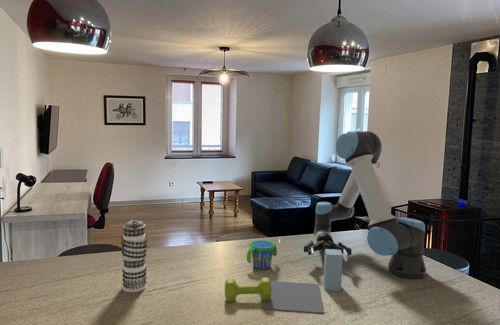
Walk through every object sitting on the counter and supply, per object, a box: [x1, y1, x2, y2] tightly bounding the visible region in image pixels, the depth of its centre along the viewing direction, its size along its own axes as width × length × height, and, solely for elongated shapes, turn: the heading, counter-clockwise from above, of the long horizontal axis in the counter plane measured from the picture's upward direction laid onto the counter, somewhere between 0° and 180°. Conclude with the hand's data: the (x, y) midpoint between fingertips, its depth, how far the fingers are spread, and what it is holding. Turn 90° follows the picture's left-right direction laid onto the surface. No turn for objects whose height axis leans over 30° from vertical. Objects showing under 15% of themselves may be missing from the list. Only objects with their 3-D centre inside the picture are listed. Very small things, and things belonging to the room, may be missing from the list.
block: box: [322, 249, 344, 292], centre depth 146 cm, size 6×6×14 cm
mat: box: [263, 280, 325, 315], centre depth 139 cm, size 20×22×1 cm
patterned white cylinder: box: [120, 219, 148, 293], centre depth 141 cm, size 9×9×25 cm
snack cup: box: [246, 239, 278, 270], centre depth 165 cm, size 16×10×10 cm
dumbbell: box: [224, 276, 272, 303], centre depth 135 cm, size 16×8×7 cm, turn 93°
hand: (329, 257), depth 157 cm, fingers open, 13 cm apart
